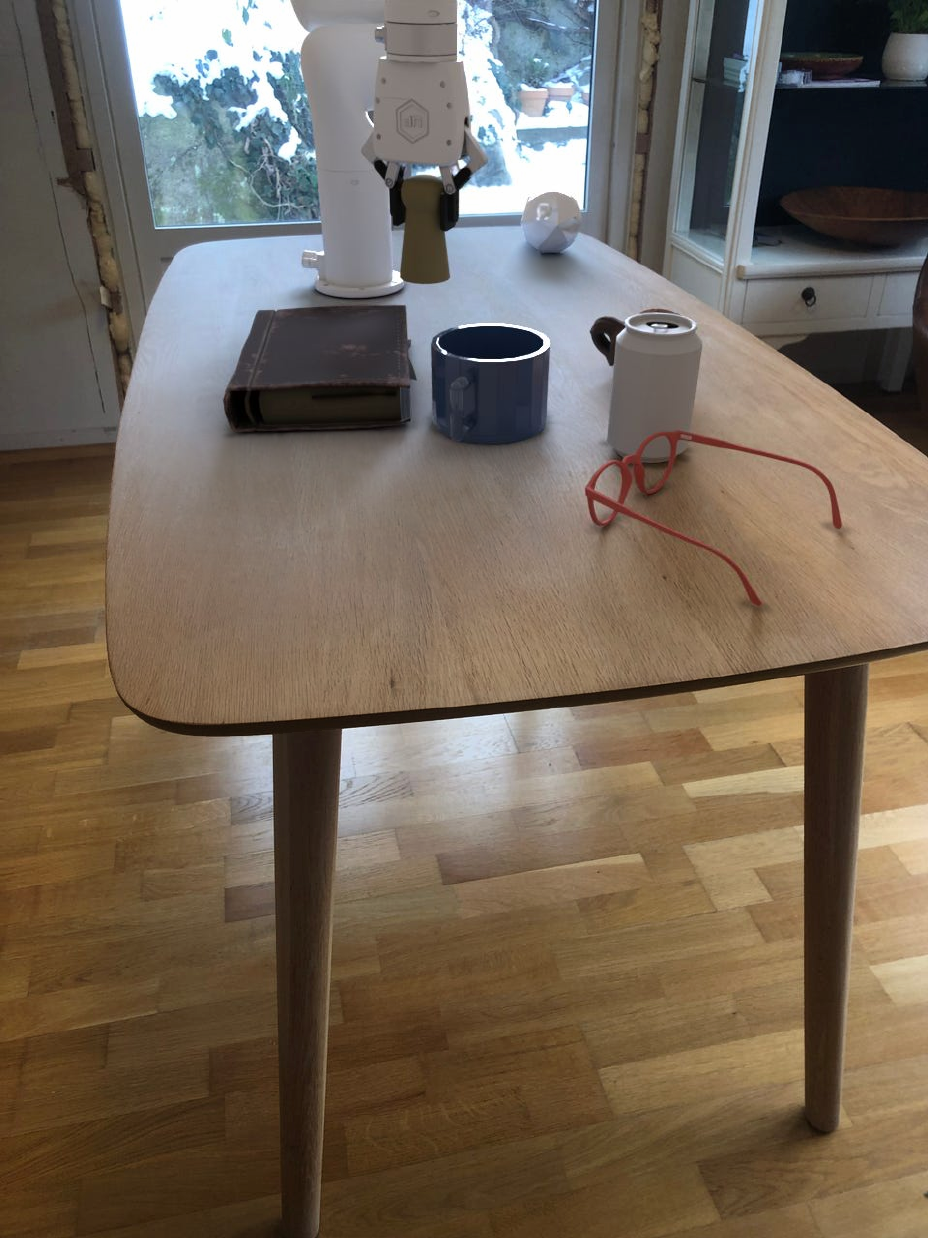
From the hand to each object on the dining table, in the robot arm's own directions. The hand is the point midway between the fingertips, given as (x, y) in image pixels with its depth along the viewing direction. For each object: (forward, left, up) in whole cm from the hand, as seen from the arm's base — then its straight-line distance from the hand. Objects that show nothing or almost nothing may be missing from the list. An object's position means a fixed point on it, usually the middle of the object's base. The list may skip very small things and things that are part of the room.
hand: (424, 224), depth 110 cm
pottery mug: (+28, -4, -13) cm, 31 cm away
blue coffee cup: (+17, -24, -13) cm, 32 cm away
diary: (-3, -20, -13) cm, 24 cm away
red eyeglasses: (+41, -37, -13) cm, 57 cm away
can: (+33, -23, -13) cm, 42 cm away
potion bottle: (0, +48, -13) cm, 50 cm away
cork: (0, 0, -6) cm, 6 cm away
